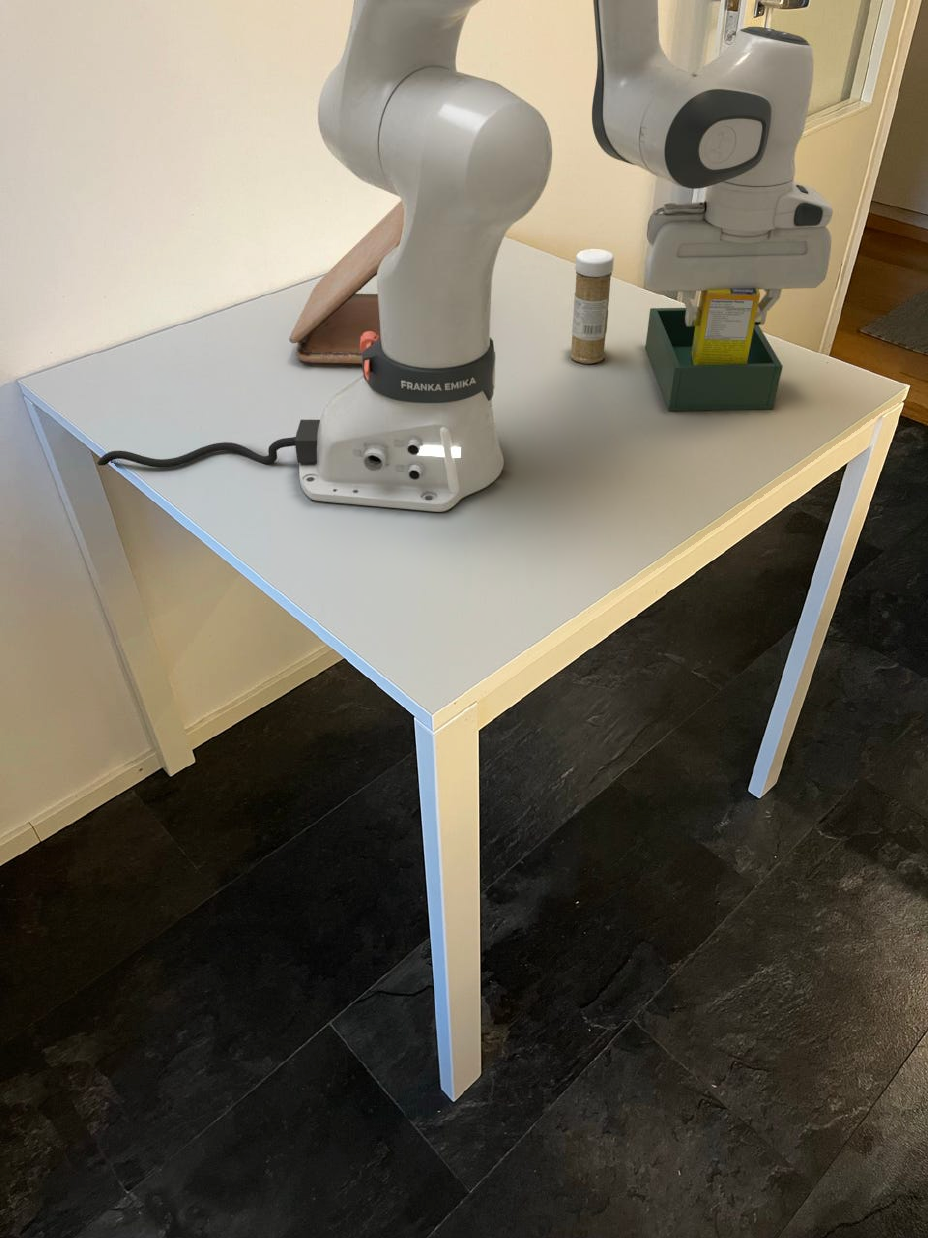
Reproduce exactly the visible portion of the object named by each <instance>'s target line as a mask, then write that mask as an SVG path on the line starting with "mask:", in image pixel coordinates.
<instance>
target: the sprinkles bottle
mask: <svg viewBox="0 0 928 1238" xmlns="http://www.w3.org/2000/svg"><path fill="white" fill-rule="evenodd" d="M574 267H575V268H574V269H575V274H576V276H575V290H574V291H575V292H574V299H573V316H572V329H571V333H572V337H571V350H570V352H569V355H570V357H571V359H572V360H574V361H576V362H577V363H581V364H589V365H590V364H596V363H600V362H601V361H603V360H604V358H605V355H606V352H605V348H606V347H605V346H606V337H607V331H608V322H609V302H610V290H611V277H612V274H613V270H614V254H612V252H610V251H609V250H606V249H602V248H601V249H600V248H599V249H598V248H588V249H584V250H581V251H579V252H577V254H576V257H575V266H574Z"/></svg>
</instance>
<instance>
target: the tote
mask: <svg viewBox="0 0 928 1238" xmlns="http://www.w3.org/2000/svg"><path fill="white" fill-rule="evenodd" d="M686 309H687V308H686V307H657V308H656V307H650V309H649V315H648V322H647V323H648V324H647V332H646V338H645V347H644V349H645V352H646V355H647V358H648V360H649V363H650V365H651V368H652V371H653V374H654V377H655V379H656V382H657V384H658V387H659V390H660V393H661V395H662V397H663V401H664V404H665V405H666V408H667V411H668V412H693V411H694V412H697V411H698V412H700V411H741V410H742V411H743V410H745V411H747V410H748V411H749V410H773V409H774V406H775V401H776V399H777V393H778V390H779V389H778V388H779V385H780V381H781V376H782V371H783V368H784V367H783V364H782V362H781V361H780V359H779V357H778V355H777V353H776V352H775V350H774V349H773V347H772V345H771V344H770V342H769V340H768V339H767V337H766V336H765V334H764V332H763V329H761V327H760V325H754V329H753V334H752V339H751V345H750V350H749V355H748V360H747V364H715V365H692V363H691V353H692V346H693V340H694V333H695V326H687V325H686V323H685V315H686Z"/></svg>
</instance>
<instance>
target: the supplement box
mask: <svg viewBox="0 0 928 1238" xmlns="http://www.w3.org/2000/svg"><path fill="white" fill-rule="evenodd" d="M760 298H761V293H760V289H758V288H747V289H714V290H707V291H700V293H699V302H698V307H699V308H700V310H701V312H702V316H701V319H700V326H695V333H694V340H693V346H692V353H691V363H692V365H715V364H747V360H748V355H749V350H750V345H751V339H752V334H753V329H754V324H755V318H756V313H757V308H758V304H759V302H760Z"/></svg>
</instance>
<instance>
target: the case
mask: <svg viewBox="0 0 928 1238" xmlns="http://www.w3.org/2000/svg"><path fill="white" fill-rule="evenodd" d="M403 226H404V207H403V203H402V201H401V200H400V201H399V202H397V204H395V206H394V207H393V208H392V209H390V211H389V212H388V213H387V214H386V215H385V216H384V217H383V218H381V219H380V220H379V221H378V222H377V223H376V225H375V226H373V227H372V228H371V229H370V230H369V231H368V232H367V233H366V234H364V236H363V237H362V238H361V239H360V240H359V241H358V242H357V243H356V244H355V245H354V246H353V247H352V248H351V249H349V251H348V252H347V253H346V254H344V256H343V257H342V258H341V259H340V260H338V261H337V263H336V264H335V265H334V266H333V267H332V268H330V269H329V271H327V272H326V273H325V274H324V276H322V277H321V279H320V280H318V282H317V284H316V285H315V286H314V288H313V289H312V291H311V293H310V295H309V297H308V299H307V302H306V303H305V305H304V308H303V310H302V311H301V314H300V315H299V317H298V319H297V321H296V323H295V325H294V326H293V329H292V330H291V333H290V335H289V338H288V340H289V342H290V343H291V344H297V348H296V349H295V357H297V359H298V360H299V361H300V362H301V361H302V362H305V363H315V364H316V363H317V364H318V363H319V364H362V354H363V353H362V352H361V350H360V339H361V336H363V333H364V332H367V331H372V332H375V333H376V335H378V336H379V339H380V338H381V335H380V320H379V306H378V293H358V292H359V291H361V290H362V289H363V288H364V287H365V286H366V285H367V284H368V283H370V282H371V280H373V279H374V278H375V277H377V272H378V268H379V266H380V263H381V262H382V260H383V259H384V257H385V256H386V255H387V254H388V253H390V252H391V251H392V250H393V249H394V248H396V247H397V246H399V244H400V241H401V237H402V232H403Z"/></svg>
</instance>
